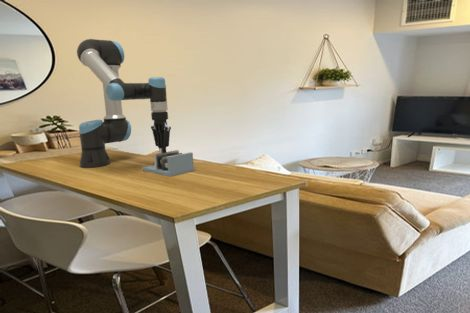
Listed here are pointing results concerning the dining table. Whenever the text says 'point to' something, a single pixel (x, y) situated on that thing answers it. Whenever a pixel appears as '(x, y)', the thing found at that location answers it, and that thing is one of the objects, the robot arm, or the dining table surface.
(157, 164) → the jaw
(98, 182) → the dining table surface
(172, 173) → the vise
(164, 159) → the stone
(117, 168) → the dining table surface
